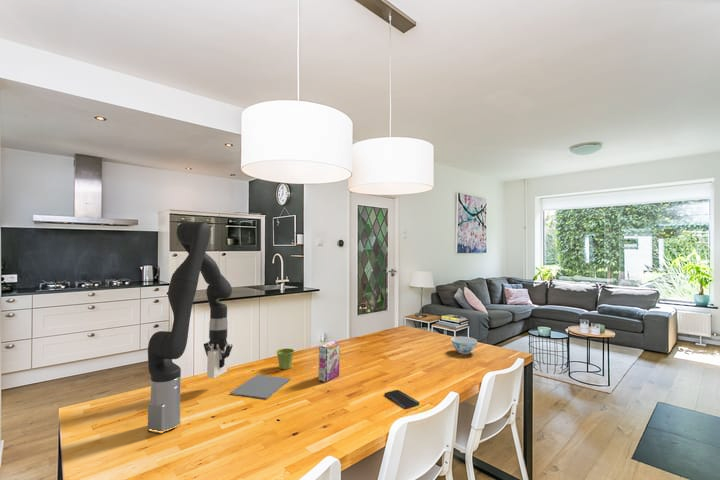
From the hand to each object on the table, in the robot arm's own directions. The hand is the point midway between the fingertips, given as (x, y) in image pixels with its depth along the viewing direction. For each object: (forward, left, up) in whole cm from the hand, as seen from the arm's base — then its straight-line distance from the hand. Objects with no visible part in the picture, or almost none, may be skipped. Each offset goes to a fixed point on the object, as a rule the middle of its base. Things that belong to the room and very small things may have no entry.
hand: (217, 366), depth 154 cm
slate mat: (+8, -17, -10) cm, 21 cm away
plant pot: (+33, -16, -10) cm, 38 cm away
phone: (+12, -80, -11) cm, 82 cm away
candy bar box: (+26, -43, -10) cm, 51 cm away
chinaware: (+86, -107, -10) cm, 138 cm away
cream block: (0, 0, -3) cm, 3 cm away
